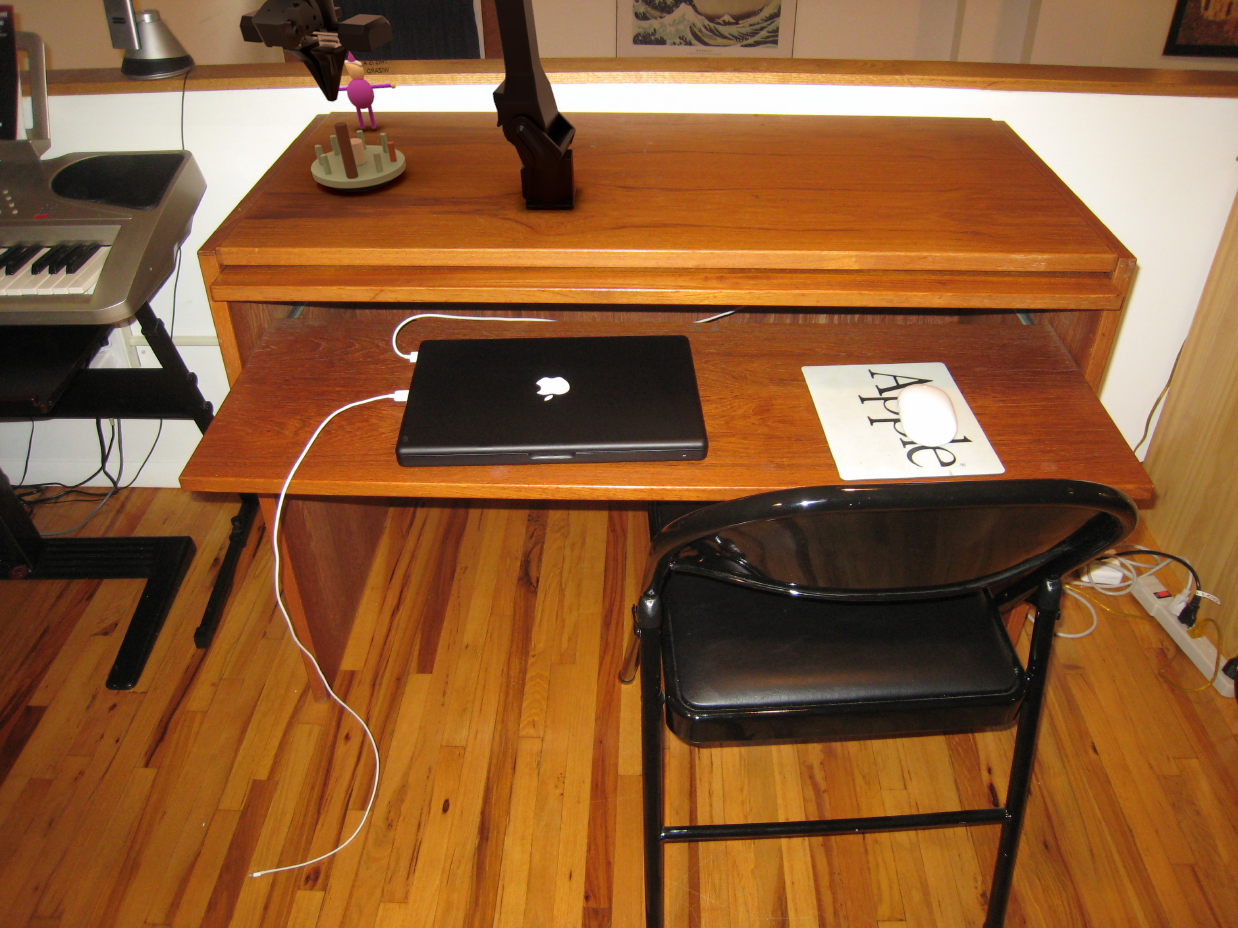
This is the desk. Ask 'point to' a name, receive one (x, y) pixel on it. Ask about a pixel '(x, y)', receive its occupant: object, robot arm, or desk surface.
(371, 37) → the robot arm
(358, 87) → the wizard figurine
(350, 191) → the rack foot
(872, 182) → the desk surface
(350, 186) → the pegged crank wheel
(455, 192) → the desk surface
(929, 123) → the desk surface
